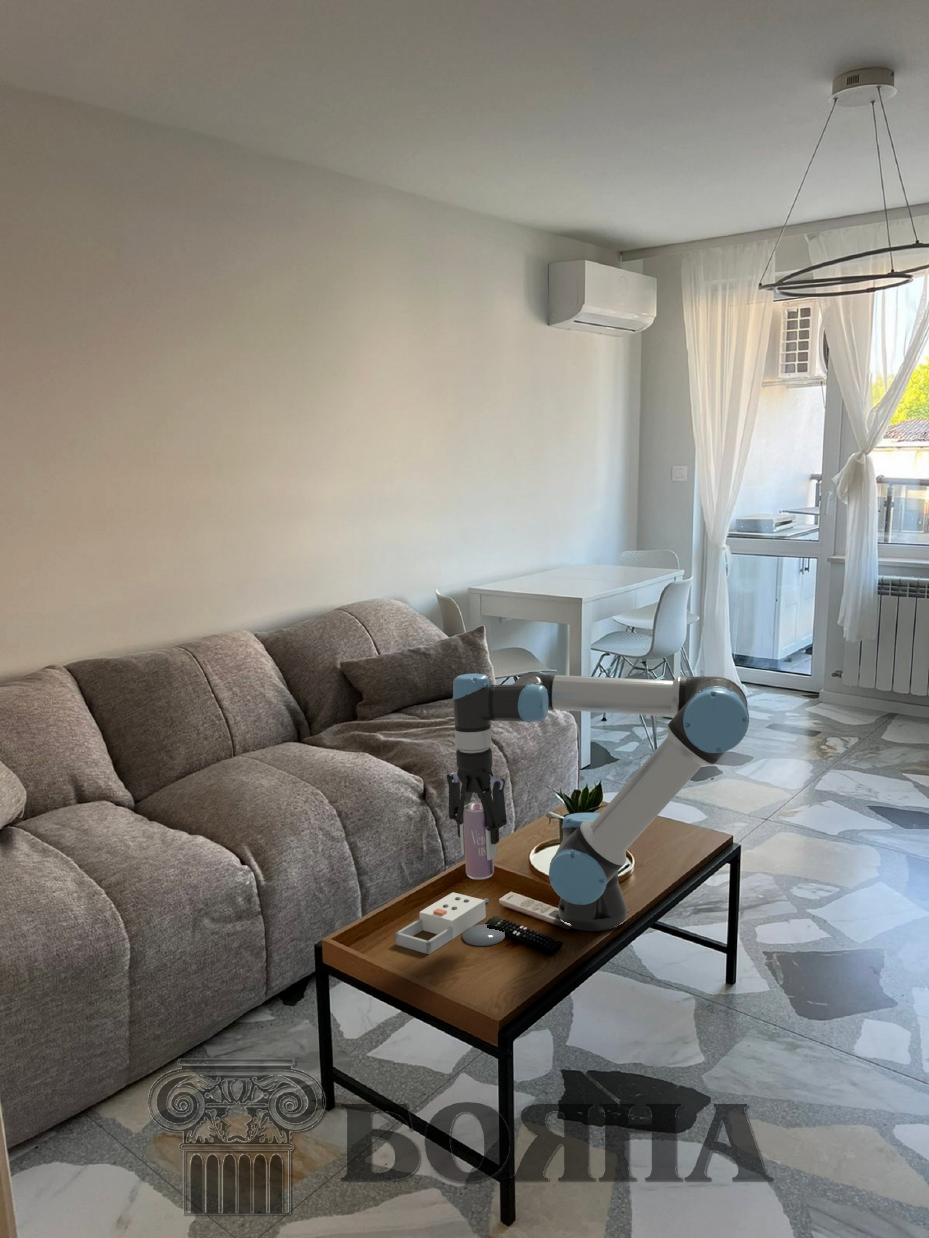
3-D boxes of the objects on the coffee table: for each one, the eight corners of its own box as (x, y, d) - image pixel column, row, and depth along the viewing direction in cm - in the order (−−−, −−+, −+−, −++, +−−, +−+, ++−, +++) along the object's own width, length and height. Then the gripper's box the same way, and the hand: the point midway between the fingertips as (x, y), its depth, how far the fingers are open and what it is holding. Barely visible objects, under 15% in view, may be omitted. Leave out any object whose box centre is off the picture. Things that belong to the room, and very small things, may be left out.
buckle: (471, 898, 221) (470, 879, 221) (503, 905, 216) (502, 886, 215) (395, 944, 199) (394, 923, 199) (429, 954, 194) (427, 933, 194)
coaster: (512, 932, 202) (512, 930, 202) (488, 949, 195) (488, 946, 195) (478, 923, 207) (478, 921, 207) (454, 939, 200) (454, 937, 200)
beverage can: (493, 868, 203) (490, 801, 201) (495, 879, 197) (491, 809, 195) (465, 870, 202) (462, 802, 201) (466, 880, 197) (463, 811, 195)
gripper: (521, 749, 194) (526, 857, 196) (448, 739, 205) (453, 842, 208) (501, 757, 188) (506, 869, 190) (427, 747, 199) (433, 852, 202)
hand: (479, 854), depth 199 cm, fingers closed on beverage can, 6 cm apart
